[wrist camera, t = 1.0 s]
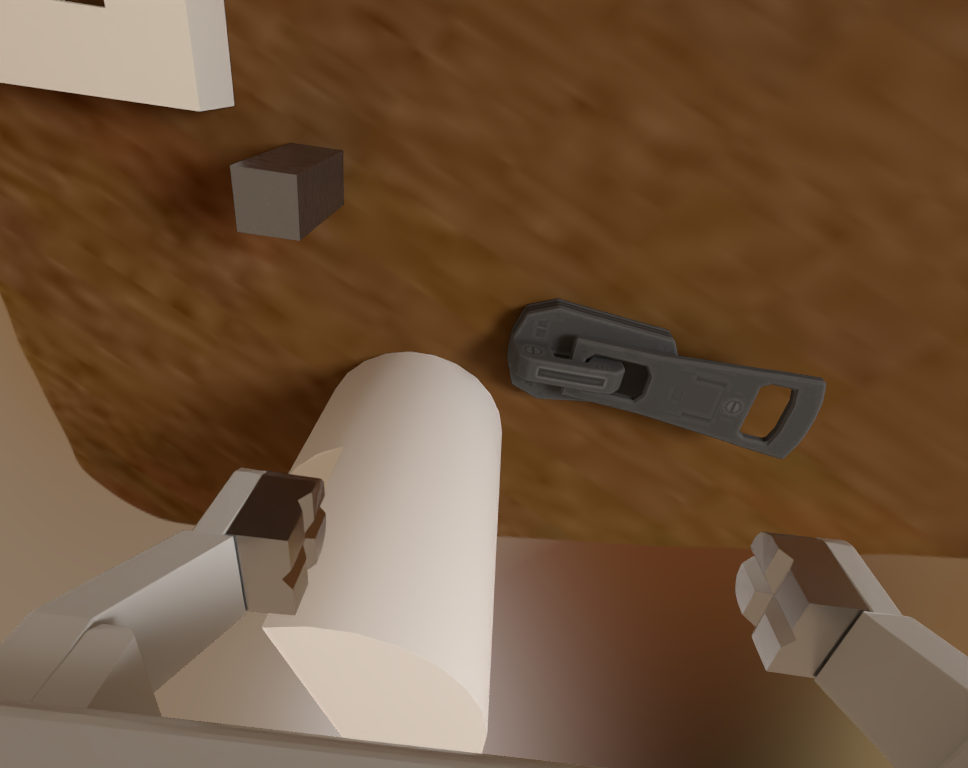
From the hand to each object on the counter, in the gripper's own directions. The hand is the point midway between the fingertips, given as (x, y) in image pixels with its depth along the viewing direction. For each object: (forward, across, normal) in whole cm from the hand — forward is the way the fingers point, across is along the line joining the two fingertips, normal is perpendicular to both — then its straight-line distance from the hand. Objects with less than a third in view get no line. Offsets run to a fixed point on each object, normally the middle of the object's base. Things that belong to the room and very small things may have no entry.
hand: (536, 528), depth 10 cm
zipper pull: (+37, -13, +14) cm, 41 cm away
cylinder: (+37, +7, +24) cm, 45 cm away
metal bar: (+36, +16, +1) cm, 39 cm away
